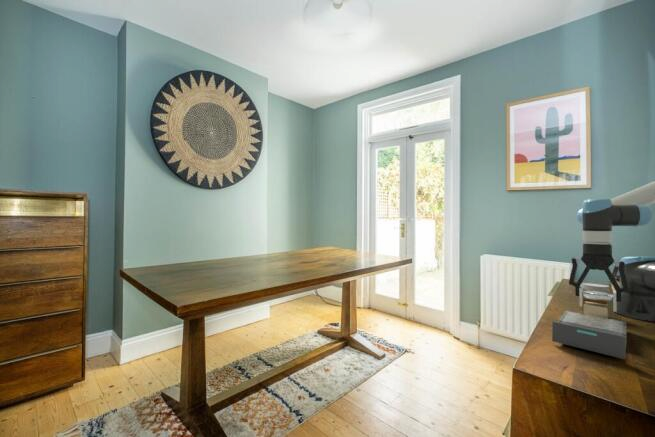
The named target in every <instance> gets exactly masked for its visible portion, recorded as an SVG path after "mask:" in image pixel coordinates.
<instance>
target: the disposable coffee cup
mask: <svg viewBox="0 0 655 437" xmlns="http://www.w3.org/2000/svg"><path fill="white" fill-rule="evenodd" d="M580 287H583V291H598V292H604V293H609V294H610V293H611V291H612V289H611V288H610V286H609V285H607V284H603V283H597V282H591V281H583V282H582V284H581V285H580ZM585 301H586V302H592V303H598V304H605V305H608V301H598V300H592V299H587V298H584V297H583V306H582V307H581V310H582V311H581V312H582V314H584V303H585Z"/></svg>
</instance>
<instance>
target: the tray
mask: <svg viewBox="0 0 655 437" xmlns="http://www.w3.org/2000/svg"><path fill="white" fill-rule="evenodd" d="M551 332H552V336H551V337H552V338H551V339H552V340H551V341H552V342H554V343H558V344H562V345H567V346H571V347H574V348H578V349H582V350H587V351H590V352H594V353H597V354H602V355H606V356H609V357H613V358H618V359H621V360H626V359H627V358H626V357H627V356H626V355H627V354H626V353H627V335H626V336H622V335H617V334H612V333H607V332H602V331H598V330H593V329H588V328H583V327H579V326H574V325H569V324H564V323H560V322H559V321H554V320H552V331H551Z"/></svg>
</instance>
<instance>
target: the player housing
mask: <svg viewBox="0 0 655 437" xmlns="http://www.w3.org/2000/svg"><path fill="white" fill-rule="evenodd" d="M558 322H560V323H564V324H569V325H574V326H579V327H583V328H588V329H593V330H598V331H602V332H607V333H612V334H617V335H622V336H626V337H627V321H624V320H619V319H613V318H609V317H608V318H603V317H598V316H592V315H587V314H583V313H580V312H574V311H570V310H564V312H563V314H562V315H561V317H560V318H559V319H558Z"/></svg>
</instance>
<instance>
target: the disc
mask: <svg viewBox="0 0 655 437" xmlns="http://www.w3.org/2000/svg"><path fill="white" fill-rule="evenodd" d="M582 296H583V297H584V298H587V299H592V300H598V301H607V302H613V293H612V294H611V293H610V292H609V293H604V292H598V291H583V292H582Z"/></svg>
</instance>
